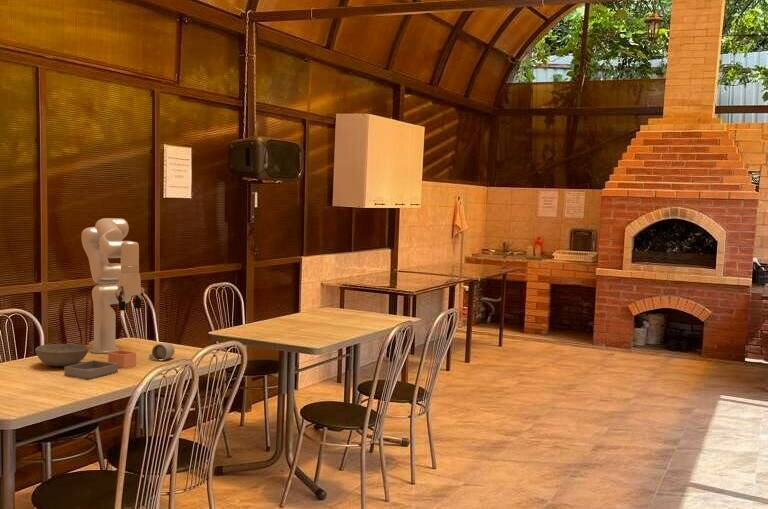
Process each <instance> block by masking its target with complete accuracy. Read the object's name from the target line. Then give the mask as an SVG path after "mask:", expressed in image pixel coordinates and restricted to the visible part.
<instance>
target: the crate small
mask: <svg viewBox="0 0 768 509" xmlns="http://www.w3.org/2000/svg"><path fill="white" fill-rule="evenodd" d="M107 362H108V363H115V364H118V369H120V368H124V369H123V370H126V369H130V368H133V366H134V367H136V366H137V352H136V351H130V350H129V351H128V350H121V349H119V350H118V351H114V352H109V353H107ZM129 367H130V368H129ZM125 368H126V369H125Z"/></svg>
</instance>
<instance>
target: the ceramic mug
mask: <svg viewBox="0 0 768 509" xmlns="http://www.w3.org/2000/svg"><path fill="white" fill-rule="evenodd" d="M175 352H176V351H175V347H174V345H173V344H172V343H169V342H163V343H157V344H155V345H154V346H153V348H152V350H151V354H149V355H148V357H149V359H150V358H151V359H154V360H155V361H157V360H159V359H163V360H160V361H159V362H162V361H165V360H168V359H170V358H172V357H173V356H174V355H175Z"/></svg>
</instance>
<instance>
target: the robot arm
mask: <svg viewBox="0 0 768 509" xmlns="http://www.w3.org/2000/svg"><path fill="white" fill-rule="evenodd" d="M129 229H130V228H129V224H128V221H127V220H126V219H124V218H118V217H117V218H115V217H114V218H113V217H112V218H111V217H110V218H109V217H106V218H105V217H104V218H101V219H99V220H97V221H96V223H95V225H94V226H93V227H92V226H91V227H86V228H83V230H82V231H81V244H82V248H83V250H84V252H85V254H86V256H87V259H88V263H89V268H90V273H91V277H92V280H93V282H94V283H96V284H97V285H95V286H94V287H93V288H92V291H91V296H92V302H93V303H92V304H93V340H90V341H89V342H88V345H89V346H91V348H89V352H90V353H94V354H108V353H109V352H114V351H118V350H120V348H119V347H118V346H116V324H117V322H116V321H117V320H116V315H117V314H116V311H115V310H114V308H113V307H111V305H118V311H126V304H127V303H129V302H130V301H131V300H132V297H134V300H133V301H134V305H133V306H134V309H139V310H140V309H142V300H143V297H144V293H145V288H144V287H142V282H141V280H142V279H141V275H140V262H139V261H140V248H139V247H140V246H139V243H138V242H137V241H132V240H124V239H125V238H126V237H127V235H128V233H129ZM109 259H120V263H117V262H115V263H114V262H113V263H110V261H109Z"/></svg>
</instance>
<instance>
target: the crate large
mask: <svg viewBox="0 0 768 509" xmlns="http://www.w3.org/2000/svg"><path fill="white" fill-rule="evenodd" d="M63 368H64V370H63V371H64V376H65V377H70V376H72V377H71V378H76V377H78V378H77V379H82V378H84V380H88V379H90V380H94V379H98V378H102V377H104V375H105V376H109V375H113V374H117V373H119V368H118V364H115V363H108V361H100V360H96V359H95V360H89V361H84V362H81V363H80V362H79V363H76V364H74V365H70V366H63ZM116 372H117V373H116ZM112 373H113V374H112ZM108 374H109V375H108ZM101 376H102V377H101ZM97 377H98V378H97ZM93 378H94V379H93Z"/></svg>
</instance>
